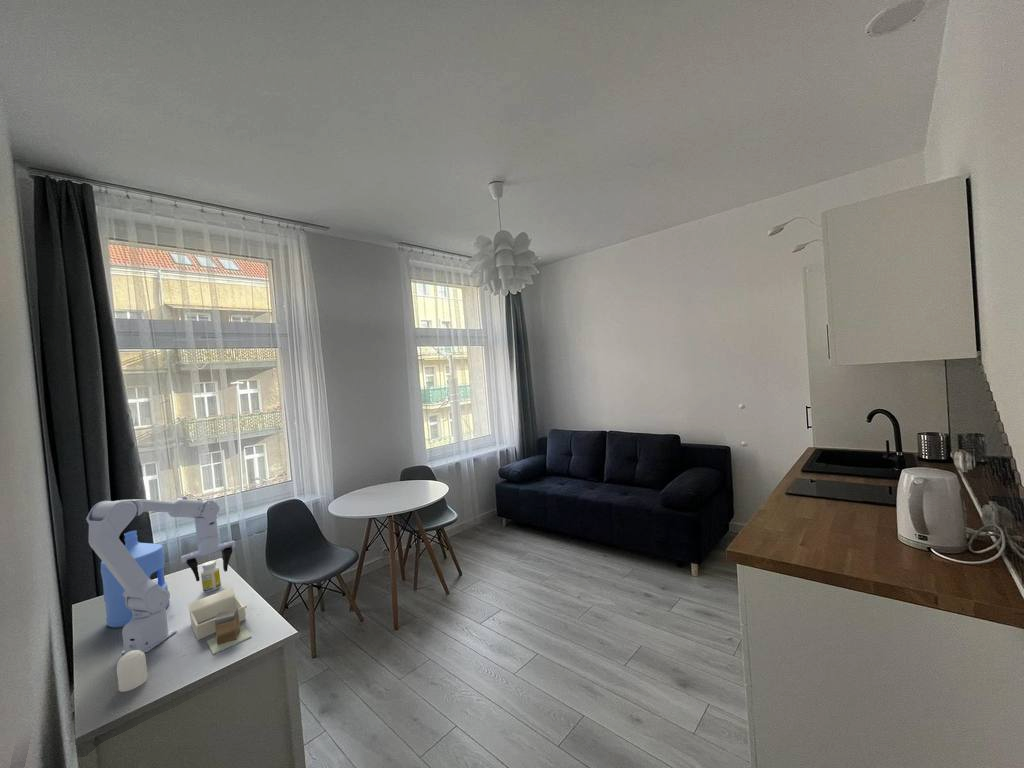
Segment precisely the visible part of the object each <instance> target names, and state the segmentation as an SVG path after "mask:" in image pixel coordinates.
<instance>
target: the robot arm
mask: <svg viewBox="0 0 1024 768" xmlns="http://www.w3.org/2000/svg"><path fill="white" fill-rule="evenodd" d="M220 508H221V507H220V505H218V503H217V501H215V500H211V499H210V500H205V499H204V500H203V498H197V497H196V499H194V498H193V499H192V498H188V496H180V497H179V498H178V497H176V498H174V499H173V500H172V501H164V500H154V499H153V500H152V499H140V498H139V499H138V498H137V499H135V498H133V499H120V500H119V499H117V500H114V501H113V500H103V501H99V502H97V503H95V504H94V505H93V506H92V507H91V509H90V511H89V512H88V514H87V516H86V518H85V520H86V522H87V524H88V544H89V546H90V548H91V549H92V551H94V553H95V554H96V555H97V556H98V558H99V559H100V560H101V562H103V563H104V564H105V565H106V567H107V568H108V569H109V570H110V572H111V573H112V574H113V575H114V577H115V578H116V579H117V581H118V582H119V583H120V584H121V586H122V587H123V588H124V589H125V591H124V593H123V596H124V597H125V600H126V607H127V608H128V609H129V610H132V615H133V618H132V619H131V621H130V622H129V623H128V624H126V625H125V626H124V627H122V630H121V631H122V632H121V634H122V643H123V650H122V651H121V654H126V653H127V652H129V651H132V650H140V651H142V652H144V654H145V653H148V652H149V651H151V650H152V649H154V648H155V647H157V646H158V645H159V644H161V643H162V642H164V641H166V640H167V639H168V638H170V637H171V636H172V635H174V634H175V633H177V632H178V631H177V630H176V629H173V630H171V629H170V630H169V627H168V626H169V625H168V617H167V607H166V605H167V603H168V601H169V600H170V599H171V598H170V597H171V594H170V591H169V589H168V590H167V589H165V588H161V587H160V586H159V585H158V584H157V583H156V582H157V581H155V580H152V579H151V578H150V579H149V578H148V577H147V575H146V574H145V573H144V571H143V570H142V569H141V567H140V566H139V565H138V563H137V562H136V561H135V559H134V558H133V557H132V555H131V554H130V553H129V551H128V550H127V549H126V547H125V544H124V543H123V542H122V541H121V539H120V536H121V534H122V533H123V531H124V530H125V529H126V528H127V526H128V525H129V524H130V523H131V522H132V521H133V520H134V518H135V517H137V516H139V517H140V516H141V515H142V514H143V513H144V512H145V513H148V512H149V513H150V512H151V513H168V515H169V516H170V517H172V518H191V519H194V522H195V523H194V524H195V533H196V534H195V535H196V542H197V550H195V551H192V552H189V553H187V554H184V555H181V556H180V558H181V563H182V564H184V563H185V564H187V566H188V567H189V569H190V570H191V571H192V572H193V574H194V577H195V581H196V582H199V581H200V574H199V567H198V561H197V559H200V558H203V557H206V556H209V555H212V554H215V553H218V552H221V557H222V565H223V566H222V568H223V571H224V572H228V569H229V568H228V567H229V562H230V558H231V555H232V554H233V551H234V550H233V549H234V548H236V541H235V540H230V541H225V542H222V543H220V540H219V531H218V524H217V523H218V522H217V520H218V514H219V512H220Z"/></svg>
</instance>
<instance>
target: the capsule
mask: <svg viewBox="0 0 1024 768" xmlns="http://www.w3.org/2000/svg"><path fill="white" fill-rule="evenodd" d="M116 663H117V665H116V674H117V675H116V676H117V685H118V691H119V692H121V693H123V692H128V691H132V690H133V689H136V688H138V687H139V686H141V685H143V684H144V683H145V682H147V680H148V679H149V676H148V667H147V658H146V654H145V653H144V652H142V651H140V650H132V651H129V652H127V653H124V654H123V655H122V656H121V657H120V658H119V660H118V661H117V662H116Z"/></svg>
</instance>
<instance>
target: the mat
mask: <svg viewBox="0 0 1024 768" xmlns="http://www.w3.org/2000/svg"><path fill="white" fill-rule="evenodd" d="M251 638H252V635H251V632H249V630H248V629H247V628H246V627H245V625H244V624H243V625H240V633H239V635H238V637H237V639H236V640H234V641H230V642H227V643H223V644H220V645H217V636H214V637H212V638H210V639H208V640H207V641H206V642H207V645H208V646H209V649H210V651H211V654H212V655H213V654H214V655H216V654H219V653H220V652H219V651H221V650H223V651H224V649H225V650H227V649H229V648H231V647H230V646H232V647H233V645H234V646H236V645H238V644H240V643H242V642H245V641H247V640H249V639H251ZM228 647H229V648H228ZM226 648H227V649H226ZM221 652H222V651H221ZM215 653H216V654H215Z"/></svg>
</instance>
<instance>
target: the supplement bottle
mask: <svg viewBox="0 0 1024 768" xmlns="http://www.w3.org/2000/svg"><path fill="white" fill-rule="evenodd" d="M201 566H202V570H201V572H200V577H201V585H202V592H203V593H210V592H213V591H215V590H218V589H220V588H221V586H222V582H221V574H220V568H219V566H217V561H216V560H210V561H207V562H204V563H202V565H201Z"/></svg>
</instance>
